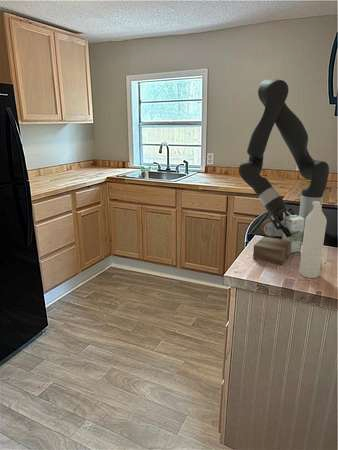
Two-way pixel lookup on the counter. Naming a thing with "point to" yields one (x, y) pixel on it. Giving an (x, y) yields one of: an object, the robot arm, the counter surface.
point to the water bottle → (313, 242)
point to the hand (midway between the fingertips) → (295, 233)
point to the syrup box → (294, 232)
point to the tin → (270, 229)
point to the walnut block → (272, 250)
